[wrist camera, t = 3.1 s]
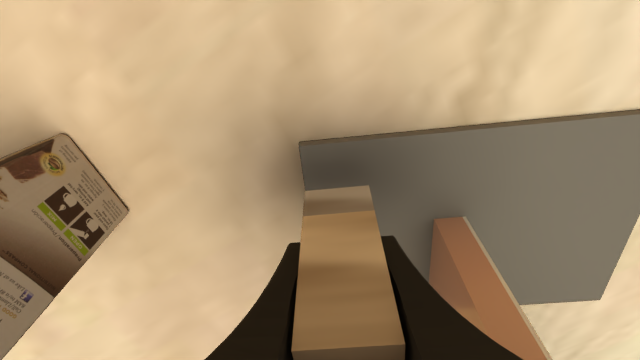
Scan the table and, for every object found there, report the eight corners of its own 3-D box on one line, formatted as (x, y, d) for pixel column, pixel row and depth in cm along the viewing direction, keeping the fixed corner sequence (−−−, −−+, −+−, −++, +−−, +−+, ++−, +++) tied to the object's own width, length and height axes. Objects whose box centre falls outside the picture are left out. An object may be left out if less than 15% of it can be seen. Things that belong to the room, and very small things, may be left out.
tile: (453, 300, 26) (519, 461, 17) (427, 302, 26) (479, 463, 17) (465, 216, 22) (559, 371, 13) (433, 218, 22) (506, 374, 13)
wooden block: (371, 235, 17) (403, 404, 10) (312, 240, 17) (306, 409, 10) (368, 185, 16) (405, 344, 9) (305, 191, 16) (291, 351, 9)
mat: (594, 293, 26) (600, 300, 26) (324, 311, 27) (324, 317, 27) (677, 105, 18) (688, 109, 18) (299, 141, 20) (298, 146, 19)
